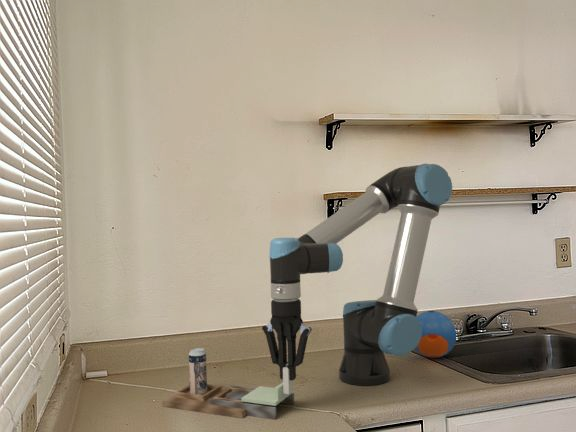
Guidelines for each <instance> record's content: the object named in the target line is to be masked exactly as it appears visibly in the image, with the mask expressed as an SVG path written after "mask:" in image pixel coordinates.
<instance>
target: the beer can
mask: <svg viewBox="0 0 576 432" xmlns="http://www.w3.org/2000/svg"><path fill="white" fill-rule="evenodd" d="M207 368H208V367H207V351H206V349H205V348H202V347H197V348H192V349H190V350H189V353H188V372H189V373H188V375H189V377H188V379H189V385H190V394H196V395H204V394H205V393H207V384H208V374H207V373H208V372H207Z"/></svg>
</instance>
